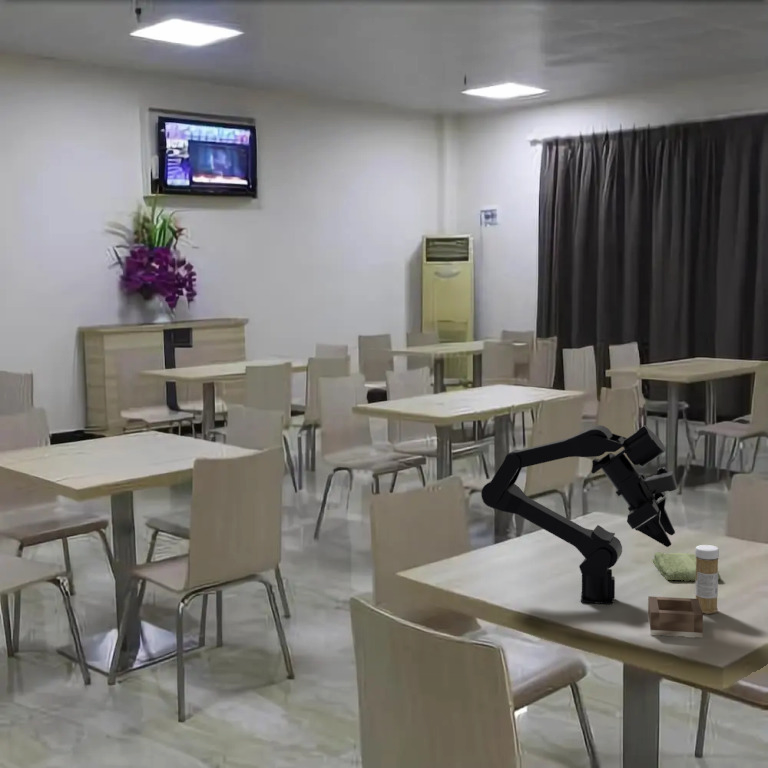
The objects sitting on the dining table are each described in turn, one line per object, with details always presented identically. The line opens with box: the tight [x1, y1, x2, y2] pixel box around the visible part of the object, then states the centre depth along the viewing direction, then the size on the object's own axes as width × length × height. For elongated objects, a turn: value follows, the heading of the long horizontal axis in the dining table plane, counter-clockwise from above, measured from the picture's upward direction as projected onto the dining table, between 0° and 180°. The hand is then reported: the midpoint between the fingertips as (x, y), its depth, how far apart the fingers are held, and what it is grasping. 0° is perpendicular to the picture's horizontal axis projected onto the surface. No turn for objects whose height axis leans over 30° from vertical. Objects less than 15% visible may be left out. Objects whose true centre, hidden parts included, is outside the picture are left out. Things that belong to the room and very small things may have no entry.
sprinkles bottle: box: [694, 544, 720, 615], centre depth 201 cm, size 5×5×14 cm
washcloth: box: [652, 551, 721, 582], centre depth 229 cm, size 13×18×3 cm
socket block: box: [647, 595, 704, 639], centre depth 193 cm, size 10×10×4 cm
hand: (671, 539), depth 204 cm, fingers open, 9 cm apart
